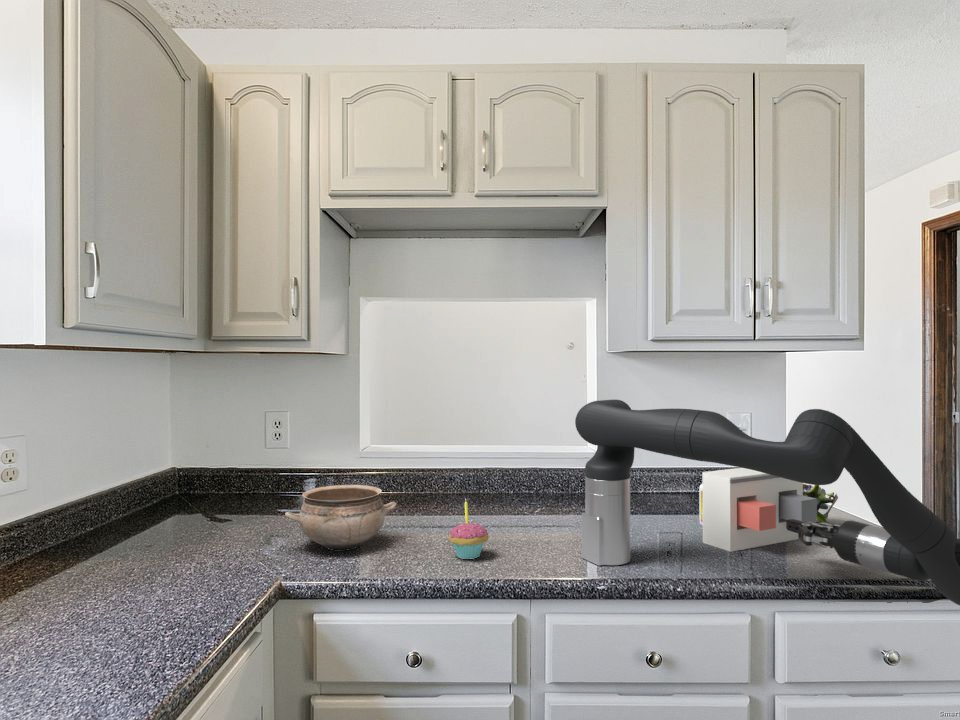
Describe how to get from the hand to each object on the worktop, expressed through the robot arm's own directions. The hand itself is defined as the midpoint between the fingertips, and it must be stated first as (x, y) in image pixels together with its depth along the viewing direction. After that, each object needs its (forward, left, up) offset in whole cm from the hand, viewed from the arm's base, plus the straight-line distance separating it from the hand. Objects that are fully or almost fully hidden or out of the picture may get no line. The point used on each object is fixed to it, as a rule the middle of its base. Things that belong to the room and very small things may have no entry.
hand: (788, 524), depth 136 cm
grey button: (+12, +8, -2) cm, 15 cm away
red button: (-1, +8, -2) cm, 8 cm away
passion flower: (+28, +16, -8) cm, 33 cm away
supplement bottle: (+8, +28, -8) cm, 31 cm away
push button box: (+6, +14, -8) cm, 17 cm away
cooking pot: (-79, +53, -8) cm, 96 cm away
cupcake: (-57, +33, -8) cm, 67 cm away
